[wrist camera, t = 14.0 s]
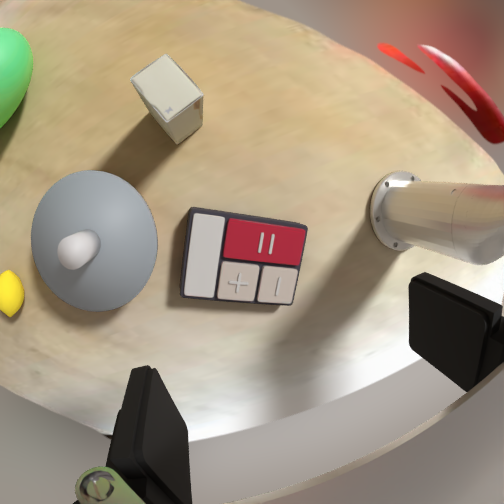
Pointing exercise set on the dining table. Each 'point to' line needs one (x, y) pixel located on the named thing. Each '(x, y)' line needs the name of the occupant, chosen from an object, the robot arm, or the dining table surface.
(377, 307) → the dining table surface
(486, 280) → the dining table surface
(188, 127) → the skincare box
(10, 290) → the lemon
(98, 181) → the lid
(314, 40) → the dining table surface
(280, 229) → the calculator
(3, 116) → the toy bird
